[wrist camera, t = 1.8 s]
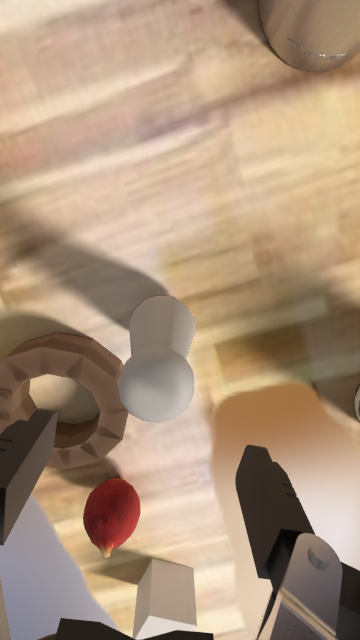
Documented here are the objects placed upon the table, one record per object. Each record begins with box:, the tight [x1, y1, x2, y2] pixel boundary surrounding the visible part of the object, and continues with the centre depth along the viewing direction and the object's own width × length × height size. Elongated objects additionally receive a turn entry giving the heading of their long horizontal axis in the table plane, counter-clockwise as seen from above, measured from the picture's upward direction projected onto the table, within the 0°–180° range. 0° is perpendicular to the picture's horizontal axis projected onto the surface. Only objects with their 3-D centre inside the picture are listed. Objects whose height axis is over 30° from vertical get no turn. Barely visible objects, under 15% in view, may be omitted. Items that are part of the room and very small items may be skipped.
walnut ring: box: [0, 332, 128, 470], centre depth 28 cm, size 13×13×4 cm
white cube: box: [133, 558, 197, 640], centre depth 37 cm, size 6×6×6 cm
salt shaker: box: [118, 295, 195, 423], centre depth 21 cm, size 6×6×13 cm
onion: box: [83, 478, 140, 558], centre depth 30 cm, size 6×6×8 cm
